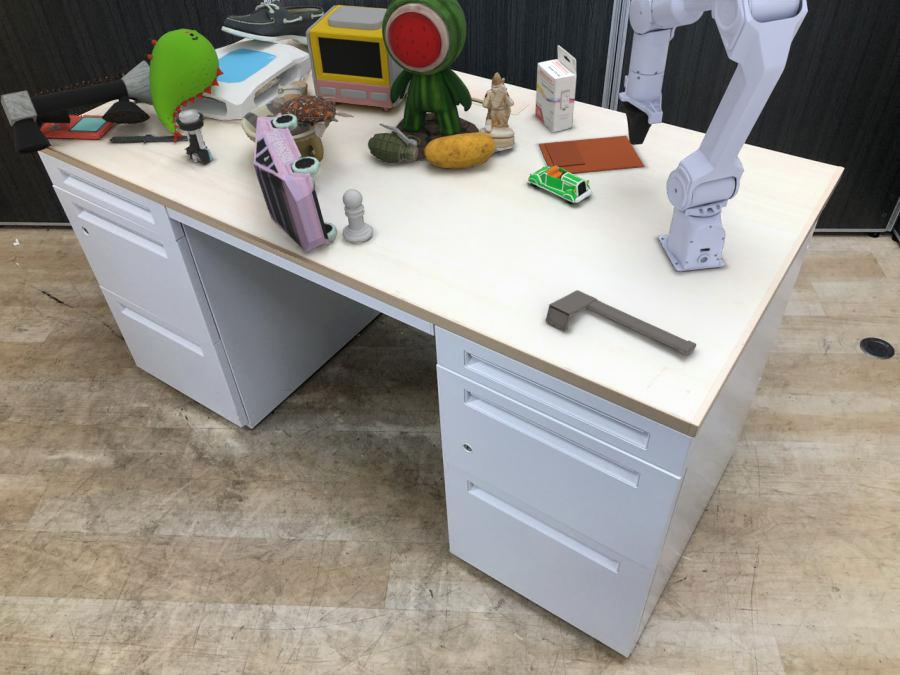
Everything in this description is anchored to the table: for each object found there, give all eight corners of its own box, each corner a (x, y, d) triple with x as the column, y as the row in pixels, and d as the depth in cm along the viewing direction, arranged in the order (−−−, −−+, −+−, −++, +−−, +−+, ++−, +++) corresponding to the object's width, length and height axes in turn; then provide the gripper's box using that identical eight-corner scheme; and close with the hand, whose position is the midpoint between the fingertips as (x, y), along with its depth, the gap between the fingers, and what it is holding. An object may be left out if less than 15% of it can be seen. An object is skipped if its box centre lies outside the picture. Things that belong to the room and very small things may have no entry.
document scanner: (167, 109, 172) (159, 82, 168) (242, 60, 190) (237, 35, 186) (243, 125, 165) (237, 98, 161) (314, 73, 183) (310, 47, 179)
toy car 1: (344, 247, 131) (288, 265, 129) (310, 176, 148) (260, 190, 146) (326, 174, 120) (264, 192, 119) (291, 106, 138) (237, 121, 136)
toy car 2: (593, 197, 140) (596, 176, 137) (576, 209, 138) (578, 188, 135) (543, 174, 147) (544, 154, 144) (525, 185, 144) (526, 164, 141)
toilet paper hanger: (691, 359, 111) (697, 342, 109) (665, 380, 105) (671, 362, 104) (575, 305, 121) (578, 289, 120) (545, 321, 115) (549, 304, 114)
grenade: (376, 114, 151) (424, 125, 149) (375, 148, 156) (421, 159, 154) (363, 126, 146) (412, 137, 144) (362, 161, 151) (410, 173, 149)
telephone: (155, 132, 175) (14, 164, 161) (134, 77, 173) (-11, 105, 159) (168, 113, 162) (16, 146, 148) (146, 54, 160) (-11, 81, 146)
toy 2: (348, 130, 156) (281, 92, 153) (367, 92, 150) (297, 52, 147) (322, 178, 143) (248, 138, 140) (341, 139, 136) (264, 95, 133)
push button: (177, 160, 155) (163, 114, 148) (196, 149, 158) (184, 103, 152) (201, 168, 152) (187, 122, 146) (220, 157, 156) (208, 111, 149)
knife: (107, 141, 160) (111, 134, 162) (108, 145, 161) (112, 138, 163) (193, 138, 160) (196, 131, 162) (194, 142, 161) (197, 135, 163)
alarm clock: (314, 107, 170) (300, 24, 158) (342, 77, 181) (331, -3, 169) (397, 117, 166) (390, 31, 153) (420, 85, 177) (415, 3, 164)
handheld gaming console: (53, 113, 170) (117, 114, 168) (55, 118, 171) (118, 120, 169) (31, 132, 163) (97, 134, 162) (33, 137, 164) (99, 139, 162)
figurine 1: (376, 155, 154) (358, -1, 134) (410, 112, 168) (399, -35, 148) (457, 165, 149) (452, 6, 129) (485, 120, 163) (485, -30, 143)
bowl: (358, 154, 154) (352, 109, 148) (291, 193, 144) (282, 147, 138) (298, 129, 163) (291, 86, 156) (231, 164, 153) (220, 120, 146)
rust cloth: (644, 166, 148) (644, 164, 147) (552, 175, 146) (552, 172, 146) (625, 136, 156) (626, 134, 156) (538, 144, 155) (539, 142, 155)
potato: (497, 172, 147) (493, 141, 142) (426, 179, 148) (420, 148, 144) (496, 152, 152) (493, 120, 148) (428, 158, 154) (423, 128, 149)
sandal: (260, 120, 167) (256, 98, 163) (288, 89, 178) (284, 68, 175) (289, 122, 166) (285, 100, 162) (315, 91, 177) (311, 69, 173)
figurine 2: (506, 145, 159) (508, 69, 152) (520, 152, 153) (523, 73, 146) (473, 147, 157) (474, 70, 150) (485, 154, 151) (487, 74, 144)
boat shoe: (209, 31, 176) (212, -11, 172) (296, 34, 201) (301, -2, 197) (245, 44, 172) (249, 2, 168) (330, 46, 196) (335, 9, 192)
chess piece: (362, 246, 131) (356, 202, 125) (336, 238, 133) (329, 194, 127) (379, 230, 134) (374, 186, 128) (354, 223, 136) (347, 178, 130)
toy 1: (168, 29, 164) (238, 47, 165) (147, 137, 166) (215, 154, 168) (148, 10, 151) (223, 30, 152) (124, 127, 154) (199, 146, 155)
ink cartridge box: (533, 115, 164) (536, 47, 154) (554, 111, 166) (558, 43, 156) (552, 133, 158) (556, 63, 148) (573, 128, 160) (579, 59, 150)
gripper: (611, 52, 131) (602, 125, 141) (636, 89, 121) (626, 165, 130) (651, 48, 132) (640, 121, 141) (680, 85, 121) (666, 161, 131)
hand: (636, 142), depth 136 cm, fingers closed
